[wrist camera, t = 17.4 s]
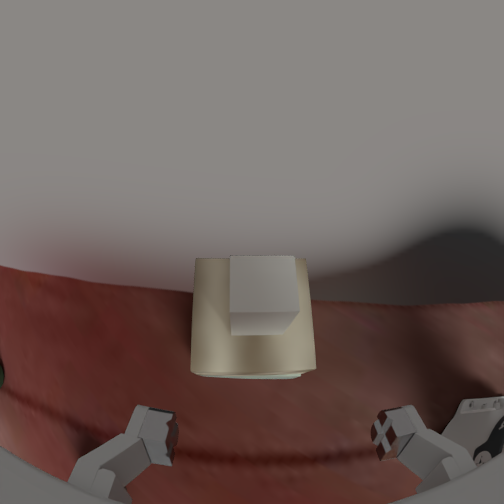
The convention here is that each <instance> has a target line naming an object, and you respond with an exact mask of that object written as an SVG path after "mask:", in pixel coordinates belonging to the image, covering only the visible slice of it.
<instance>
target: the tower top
mask: <svg viewBox="0 0 504 504" xmlns="http://www.w3.org/2000/svg"><path fill="white" fill-rule="evenodd" d="M295 265H296V275H297V285H298V296H299V308H300V312H299V313H298V315H297V316H296V317H295V319H294V320H293V321H292V323H291V324H290V326H289V327H288V328H287V330H286V331H285V332H284V334H283V335H241V336H231V324H230V259H209V258H207V259H206V258H205V259H204V258H203V259H202V258H196V263H195V278H194V293H193V313H192V339H191V372H193V373H195V374H197V375H203V376H265V375H287V374H302V373H305V372H308V371H311V370H314V369H316V359H315V346H314V334H313V322H312V312H311V301H310V292H309V283H308V274H307V265H306V259H295Z"/></svg>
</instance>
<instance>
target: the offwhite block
mask: <svg viewBox="0 0 504 504" xmlns="http://www.w3.org/2000/svg"><path fill="white" fill-rule="evenodd" d="M299 312H300V308H299V296H298V285H297V275H296V265H295V256H230V324H231V336H241V335H283V334H284V332H285V331H286V330H287V328H288V327H289V326H290V324H291V323H292V321H293V320H294V319H295V317H296V316H297V315H298V313H299Z"/></svg>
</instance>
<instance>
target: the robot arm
mask: <svg viewBox="0 0 504 504" xmlns="http://www.w3.org/2000/svg"><path fill="white" fill-rule="evenodd" d="M377 417H378V420H377V421H376V422H374V423H373V425H372V427H371V439H372V441H373V443H374V444H376V445H377V448H376V452H377V454H378V457H379V460H380V461H384V460H389V459H393V458H397V459H398V460H399V461H400V462H402V463H403V464H404V465H405V466H406V467H408V468H409V469H410V470H411V471H413V472H414V473H415V474H416V475H418V476H419V477H420V478H421V479H423V481H422V482H421V483H420V484H419V485H418V486H417V487H416V492H417V494H416V495H413V496H410V497H407V498H404V499H401V500H398V501H395V502H392V503H388V504H504V396H501V397H490V398H477V399H464V400H462V401H461V403H460V405H459V407H458V409H457V412H456V414H455V416H454V418H453V419H452V420H451V421H450V423H449V424H448V425H447V426H446V428H445V429H444V431H443V433H442V435H440V434H438V433H436V432H435V431H433V430H431V429H427V428H426V426H425V425H424V423H423V421H422V419H421V418H420V416H419V414H418V413H417V411H416V409H415V408H414V406H412V405H408V406H403V407H397V408H392V409H387V410H382V411H380V412H379V414H378V416H377ZM176 418H177V417H176V412H172V411H167V410H161V409H156V408H151V407H146V406H141V405H137V406H136V407H135V410H134V412H133V414H132V417H131V419H130V422H129V424H128V426H127V429H126V431H125V434H119V435H118V436H116V437H114V438H113V439H111V440H110V441H108V442H106V443H105V444H103V445H101V446H100V447H98V448H96V449H94V450H93V451H91V452H89V453H88V454H86V455H84V456H82V457H80V458H79V459H78V461H77V463H76V465H75V467H74V469H73V471H72V473H71V476H70V478H69V480H68V482H65V481H63V480H61V479H59V478H57V477H54V476H52V475H50V474H48V473H46V472H44V471H42V470H41V469H39V468H37V467H35V466H33V465H31V464H29V463H28V462H26V461H24V460H23V459H21V458H19V457H17V456H16V455H14V454H13V453H11V452H10V451H8V450H7V449H5V448H3V447H1V446H0V504H131V503H132V498H131V497H130V495H129V494H128V493H127V491H126V490H125V488H124V487H125V486H126V485H127V484H128V483H129V482H131V481H132V480H133V479H134V478H135V477H136V476H138V475H139V474H140V473H141V472H142V471H143V470H145V469H146V468H147V467H148V466H149V465H150V464H151V463H155V464H161V465H167V466H172V464H173V460H174V455H175V452H174V448H173V447H175V446H176V445H177V442H178V434H179V429H178V424H177V423H176Z"/></svg>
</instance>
